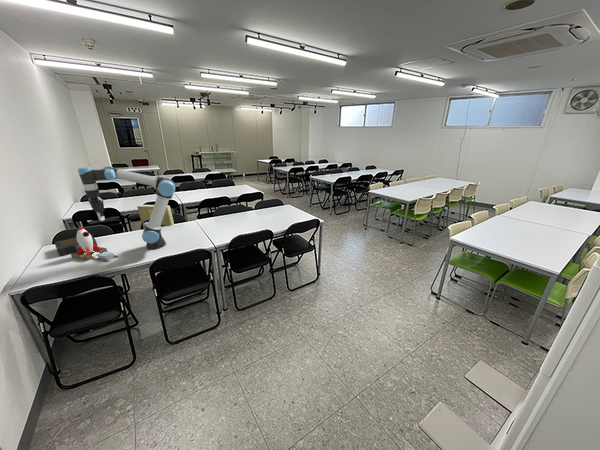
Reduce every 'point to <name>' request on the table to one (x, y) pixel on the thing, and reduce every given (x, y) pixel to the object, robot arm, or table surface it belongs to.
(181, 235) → the table surface
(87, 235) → the rocket
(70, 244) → the cash box
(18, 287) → the table surface
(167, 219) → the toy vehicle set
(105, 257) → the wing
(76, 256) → the tray
